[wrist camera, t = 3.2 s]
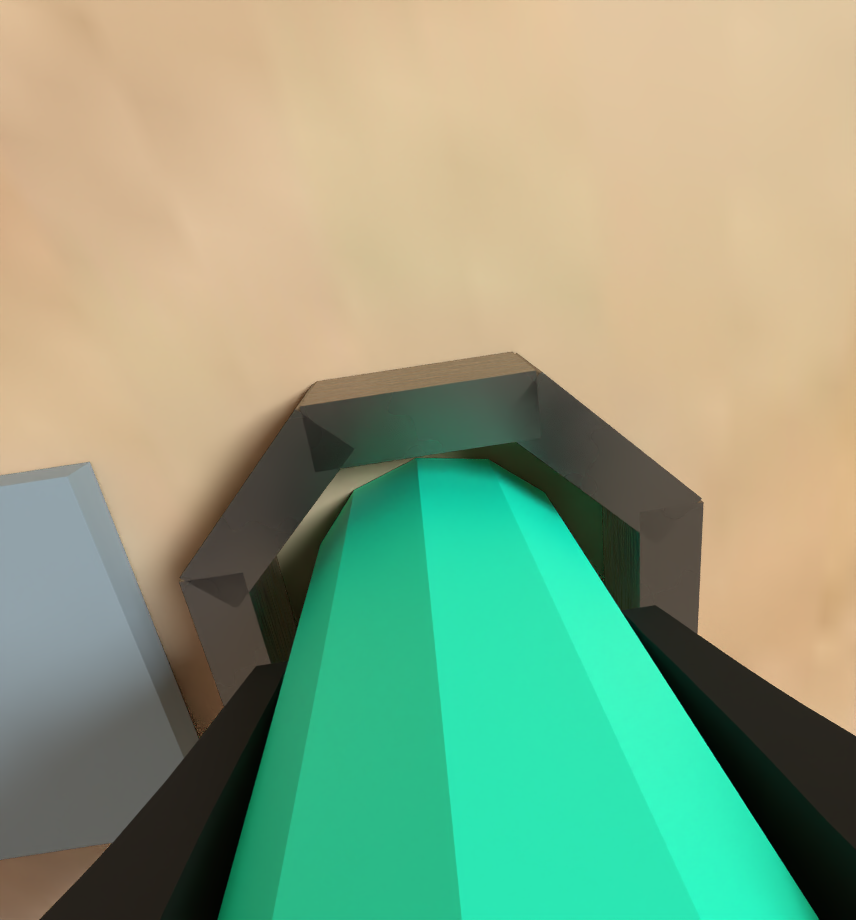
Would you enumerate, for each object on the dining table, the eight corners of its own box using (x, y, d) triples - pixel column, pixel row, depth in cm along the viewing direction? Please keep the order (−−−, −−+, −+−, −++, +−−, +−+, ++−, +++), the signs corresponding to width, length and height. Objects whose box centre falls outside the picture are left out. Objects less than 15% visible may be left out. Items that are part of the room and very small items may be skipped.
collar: (652, 703, 14) (690, 770, 12) (286, 759, 14) (270, 834, 12) (656, 329, 11) (710, 343, 9) (172, 403, 11) (125, 432, 9)
